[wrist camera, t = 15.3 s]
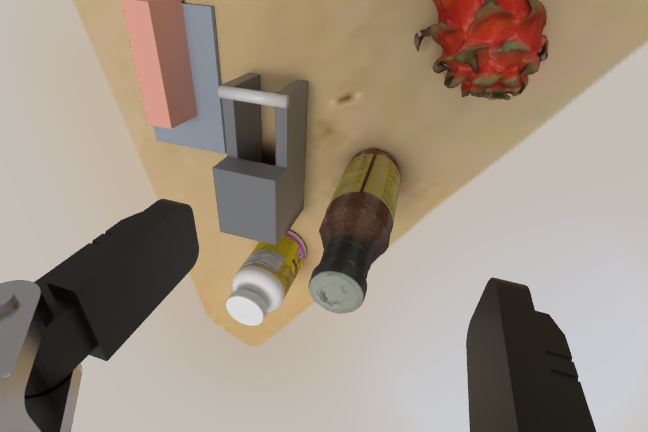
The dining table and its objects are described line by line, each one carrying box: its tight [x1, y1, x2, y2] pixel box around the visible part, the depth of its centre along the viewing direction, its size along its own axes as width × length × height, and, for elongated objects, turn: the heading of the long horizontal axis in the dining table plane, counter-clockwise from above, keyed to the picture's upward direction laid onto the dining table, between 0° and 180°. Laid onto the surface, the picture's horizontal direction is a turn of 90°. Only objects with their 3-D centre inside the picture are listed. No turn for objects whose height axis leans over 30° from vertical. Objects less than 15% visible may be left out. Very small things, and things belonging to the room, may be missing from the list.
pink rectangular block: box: [121, 0, 198, 129], centre depth 38 cm, size 12×3×5 cm, turn 176°
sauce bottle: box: [309, 150, 400, 313], centre depth 33 cm, size 6×6×20 cm
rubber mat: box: [154, 3, 227, 154], centre depth 41 cm, size 16×10×1 cm, turn 176°
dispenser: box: [213, 73, 308, 245], centre depth 39 cm, size 16×7×9 cm, turn 176°
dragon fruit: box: [415, 0, 548, 100], centre depth 28 cm, size 8×8×12 cm
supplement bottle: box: [226, 231, 306, 326], centre depth 46 cm, size 7×7×13 cm
